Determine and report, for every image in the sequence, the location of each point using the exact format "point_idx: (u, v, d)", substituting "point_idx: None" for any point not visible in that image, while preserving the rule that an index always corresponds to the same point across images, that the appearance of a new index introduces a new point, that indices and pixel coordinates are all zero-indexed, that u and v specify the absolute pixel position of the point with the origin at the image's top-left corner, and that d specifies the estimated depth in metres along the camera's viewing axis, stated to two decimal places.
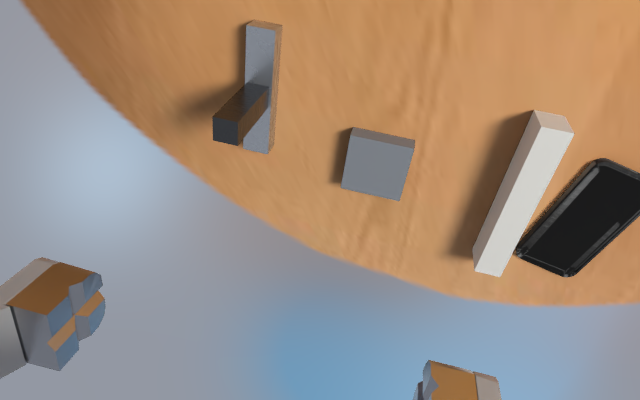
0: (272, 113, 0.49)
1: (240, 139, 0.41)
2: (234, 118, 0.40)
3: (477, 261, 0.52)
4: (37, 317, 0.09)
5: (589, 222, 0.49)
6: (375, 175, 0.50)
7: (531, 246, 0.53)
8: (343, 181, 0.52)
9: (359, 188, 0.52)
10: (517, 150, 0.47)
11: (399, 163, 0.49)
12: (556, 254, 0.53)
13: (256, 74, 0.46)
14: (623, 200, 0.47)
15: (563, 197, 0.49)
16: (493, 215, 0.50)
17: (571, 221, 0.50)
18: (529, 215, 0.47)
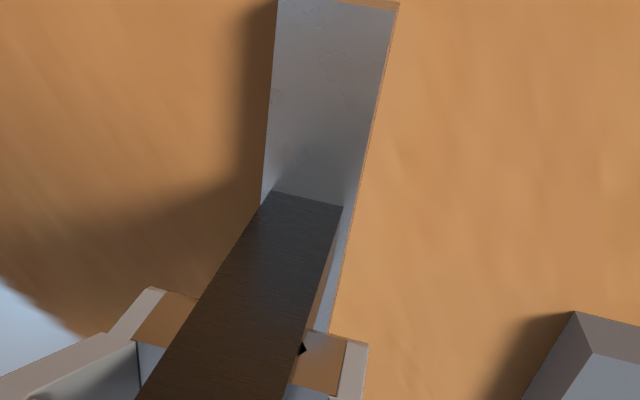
0: (339, 275, 0.16)
1: None
2: None
3: None
4: None
5: None
6: None
7: None
8: None
9: None
10: None
11: None
12: None
13: (304, 166, 0.14)
14: None
15: None
16: None
17: None
18: None
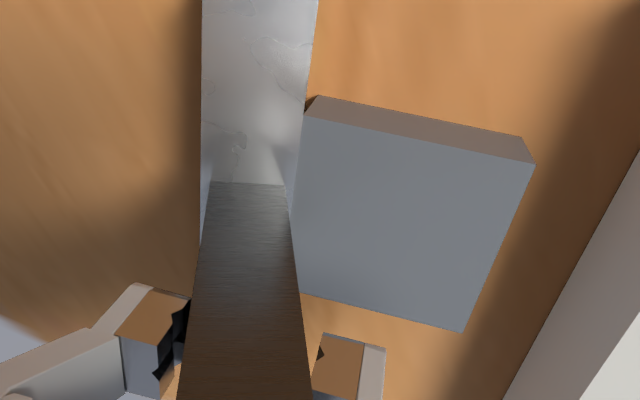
0: None
1: None
2: None
3: None
4: (146, 347, 0.09)
5: None
6: (389, 254, 0.15)
7: None
8: None
9: (338, 291, 0.17)
10: None
11: (475, 217, 0.14)
12: None
13: (242, 152, 0.14)
14: None
15: None
16: (570, 336, 0.16)
17: None
18: None
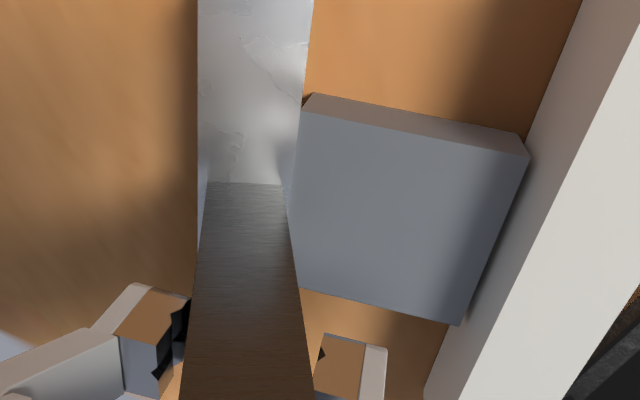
0: None
1: None
2: None
3: None
4: (145, 347, 0.09)
5: None
6: (386, 248, 0.15)
7: (582, 396, 0.19)
8: None
9: (336, 286, 0.17)
10: (547, 101, 0.14)
11: (471, 210, 0.14)
12: None
13: (239, 152, 0.14)
14: None
15: None
16: (471, 314, 0.16)
17: None
18: (600, 327, 0.13)
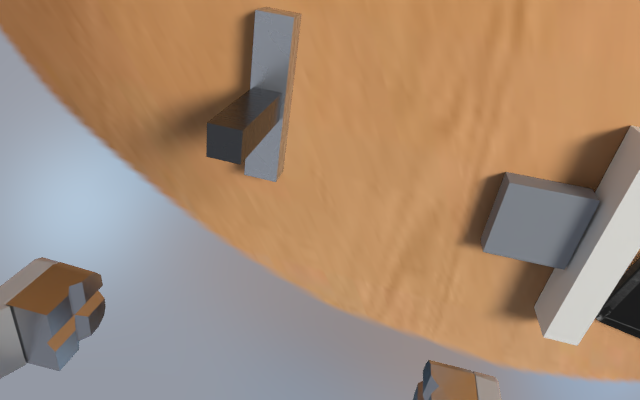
0: (284, 129, 0.38)
1: (244, 156, 0.30)
2: (237, 126, 0.29)
3: (547, 324, 0.40)
4: (37, 317, 0.09)
5: None
6: (536, 236, 0.38)
7: (614, 305, 0.41)
8: (488, 243, 0.39)
9: (510, 252, 0.39)
10: (605, 179, 0.36)
11: (575, 220, 0.36)
12: None
13: (266, 75, 0.35)
14: None
15: None
16: (569, 264, 0.38)
17: None
18: (625, 264, 0.35)
